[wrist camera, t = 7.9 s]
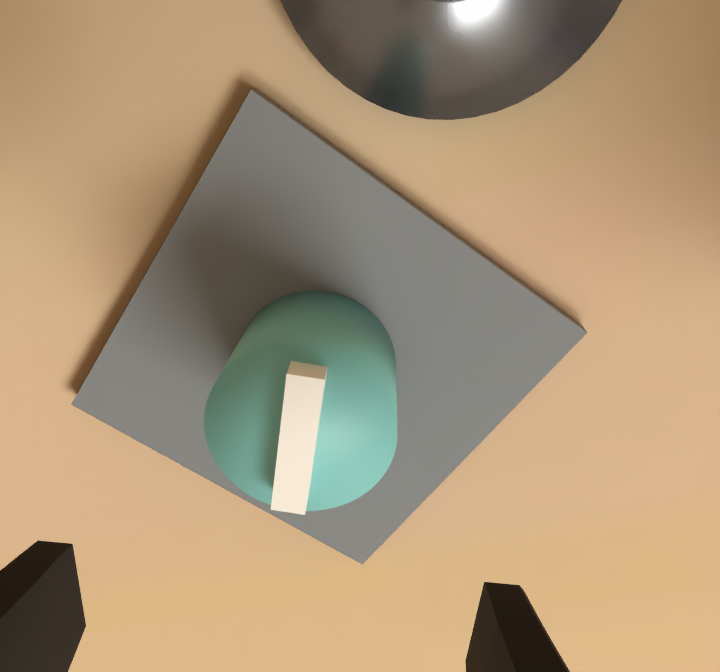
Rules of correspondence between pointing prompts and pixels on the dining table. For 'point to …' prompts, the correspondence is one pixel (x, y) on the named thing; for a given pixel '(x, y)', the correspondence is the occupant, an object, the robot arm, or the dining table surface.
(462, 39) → the metal flanged disc
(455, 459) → the mat
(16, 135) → the dining table surface
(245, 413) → the cap
